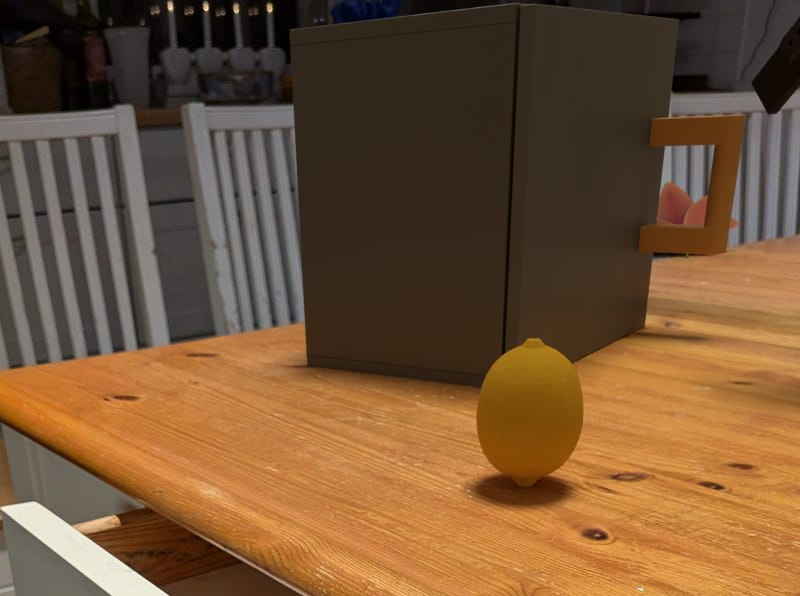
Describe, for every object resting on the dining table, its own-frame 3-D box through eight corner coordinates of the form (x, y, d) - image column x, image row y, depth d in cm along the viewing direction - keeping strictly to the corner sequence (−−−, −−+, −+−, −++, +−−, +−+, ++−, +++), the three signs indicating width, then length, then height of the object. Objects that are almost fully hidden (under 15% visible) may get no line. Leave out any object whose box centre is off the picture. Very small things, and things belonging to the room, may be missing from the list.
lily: (747, 277, 115) (735, 199, 115) (737, 248, 105) (724, 162, 105) (644, 307, 121) (633, 232, 121) (626, 282, 111) (613, 200, 111)
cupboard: (631, 326, 88) (664, 18, 77) (499, 391, 71) (516, 2, 59) (460, 313, 98) (467, 38, 87) (306, 367, 80) (289, 29, 69)
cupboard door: (723, 332, 84) (772, 10, 73) (607, 402, 66) (648, -10, 55) (634, 325, 88) (667, 20, 77) (502, 389, 70) (520, 5, 59)
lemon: (466, 501, 51) (471, 348, 47) (482, 468, 56) (487, 326, 52) (573, 508, 50) (586, 350, 46) (580, 473, 54) (593, 327, 50)
